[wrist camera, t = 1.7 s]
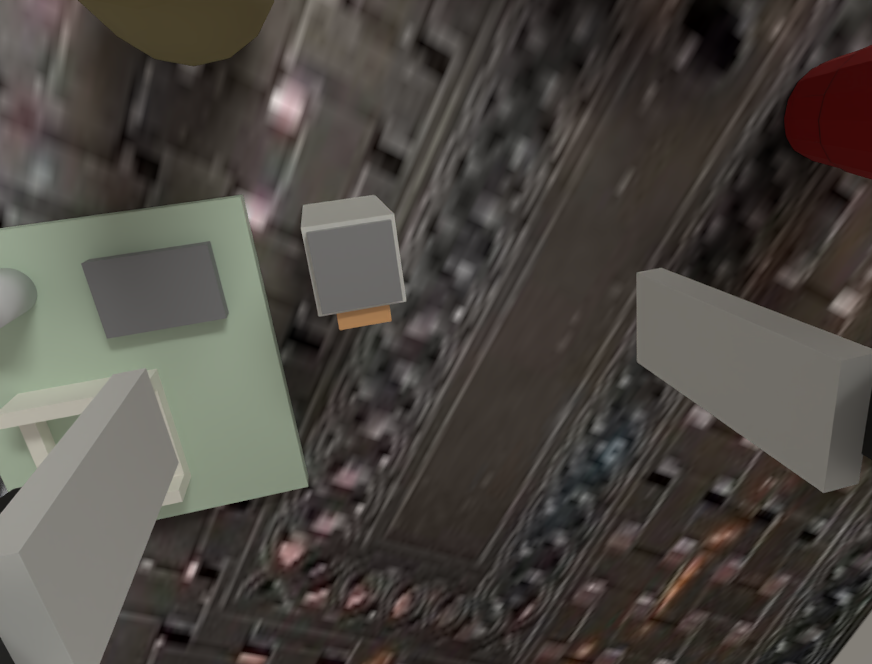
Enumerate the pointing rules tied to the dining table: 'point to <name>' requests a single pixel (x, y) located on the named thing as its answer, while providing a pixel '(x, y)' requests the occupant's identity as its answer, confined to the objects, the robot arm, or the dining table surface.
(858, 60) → the plastic cup
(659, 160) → the dining table surface
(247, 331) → the board
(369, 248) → the plug
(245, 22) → the squeeze bottle
